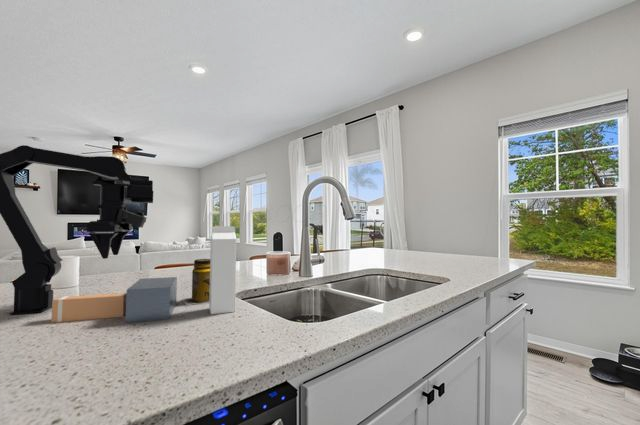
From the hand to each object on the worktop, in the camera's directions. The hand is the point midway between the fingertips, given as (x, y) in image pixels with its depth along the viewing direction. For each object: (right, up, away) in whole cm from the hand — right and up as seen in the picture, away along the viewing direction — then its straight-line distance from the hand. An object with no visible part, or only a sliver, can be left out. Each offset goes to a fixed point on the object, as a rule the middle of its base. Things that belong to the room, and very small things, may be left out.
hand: (110, 256), depth 86 cm
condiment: (+24, -14, +3) cm, 28 cm away
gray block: (+17, -13, -9) cm, 23 cm away
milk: (+34, -13, -7) cm, 37 cm away
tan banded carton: (+5, -13, -14) cm, 19 cm away
